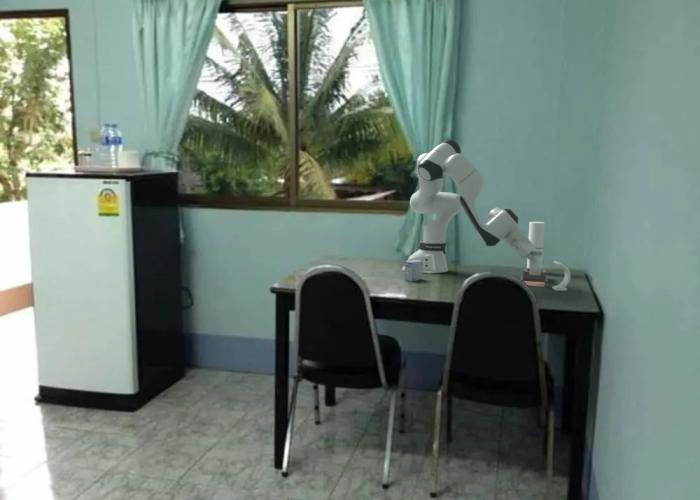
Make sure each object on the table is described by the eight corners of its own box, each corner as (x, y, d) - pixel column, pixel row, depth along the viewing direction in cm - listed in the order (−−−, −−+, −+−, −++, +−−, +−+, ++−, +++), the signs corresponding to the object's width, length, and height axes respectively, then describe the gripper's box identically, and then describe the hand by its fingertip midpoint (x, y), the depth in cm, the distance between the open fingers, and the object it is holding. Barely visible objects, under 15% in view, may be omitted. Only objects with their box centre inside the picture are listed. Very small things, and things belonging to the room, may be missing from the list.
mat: (523, 285, 272) (523, 284, 272) (523, 282, 280) (523, 280, 280) (544, 287, 269) (544, 286, 269) (544, 283, 278) (544, 282, 278)
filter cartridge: (528, 274, 272) (529, 252, 271) (528, 272, 277) (529, 250, 276) (540, 275, 271) (542, 253, 269) (540, 273, 276) (542, 251, 274)
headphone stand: (551, 288, 267) (553, 260, 266) (565, 288, 267) (567, 261, 266) (555, 290, 263) (557, 262, 261) (569, 290, 263) (571, 262, 261)
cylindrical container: (542, 274, 300) (545, 223, 296) (527, 273, 301) (530, 222, 298) (540, 271, 307) (543, 221, 303) (526, 271, 308) (528, 221, 305)
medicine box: (415, 278, 286) (415, 259, 285) (422, 279, 283) (423, 260, 282) (404, 280, 281) (404, 261, 280) (411, 281, 278) (412, 262, 276)
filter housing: (520, 281, 282) (520, 271, 281) (520, 276, 294) (521, 267, 293) (547, 283, 279) (548, 273, 278) (547, 278, 290) (547, 268, 289)
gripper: (516, 235, 265) (538, 260, 262) (524, 231, 283) (545, 254, 281) (505, 245, 267) (527, 269, 265) (514, 240, 286) (534, 262, 283)
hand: (536, 261), depth 273 cm, fingers closed on filter cartridge, 5 cm apart
